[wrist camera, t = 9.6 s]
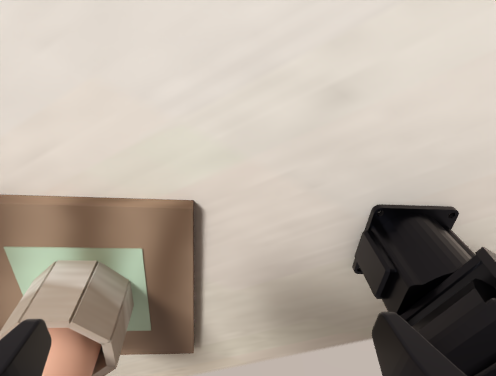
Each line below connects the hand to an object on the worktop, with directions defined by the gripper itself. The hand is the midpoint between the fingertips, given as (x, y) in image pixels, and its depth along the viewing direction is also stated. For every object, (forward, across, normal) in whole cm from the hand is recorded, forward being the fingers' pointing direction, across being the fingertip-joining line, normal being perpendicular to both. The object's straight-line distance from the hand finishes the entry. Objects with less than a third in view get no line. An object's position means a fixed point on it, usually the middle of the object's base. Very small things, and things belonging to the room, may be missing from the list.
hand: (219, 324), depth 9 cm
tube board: (+13, +10, +12) cm, 21 cm away
